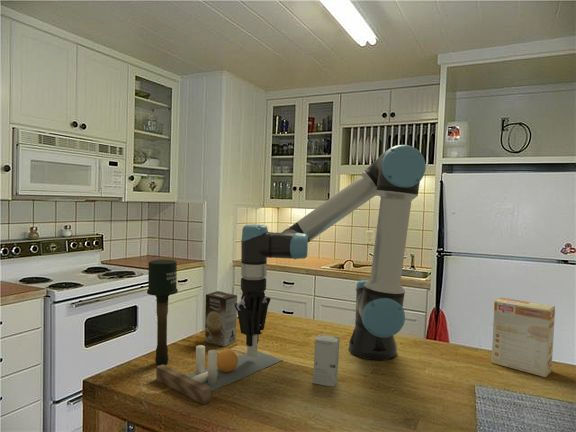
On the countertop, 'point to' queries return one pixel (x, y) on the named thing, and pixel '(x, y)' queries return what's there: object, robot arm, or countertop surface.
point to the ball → (227, 361)
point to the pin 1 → (200, 359)
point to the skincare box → (326, 360)
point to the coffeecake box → (523, 336)
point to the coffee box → (220, 318)
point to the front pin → (201, 377)
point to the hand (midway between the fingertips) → (252, 355)
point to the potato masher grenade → (162, 300)
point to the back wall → (184, 384)
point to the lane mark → (241, 369)
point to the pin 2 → (212, 367)
